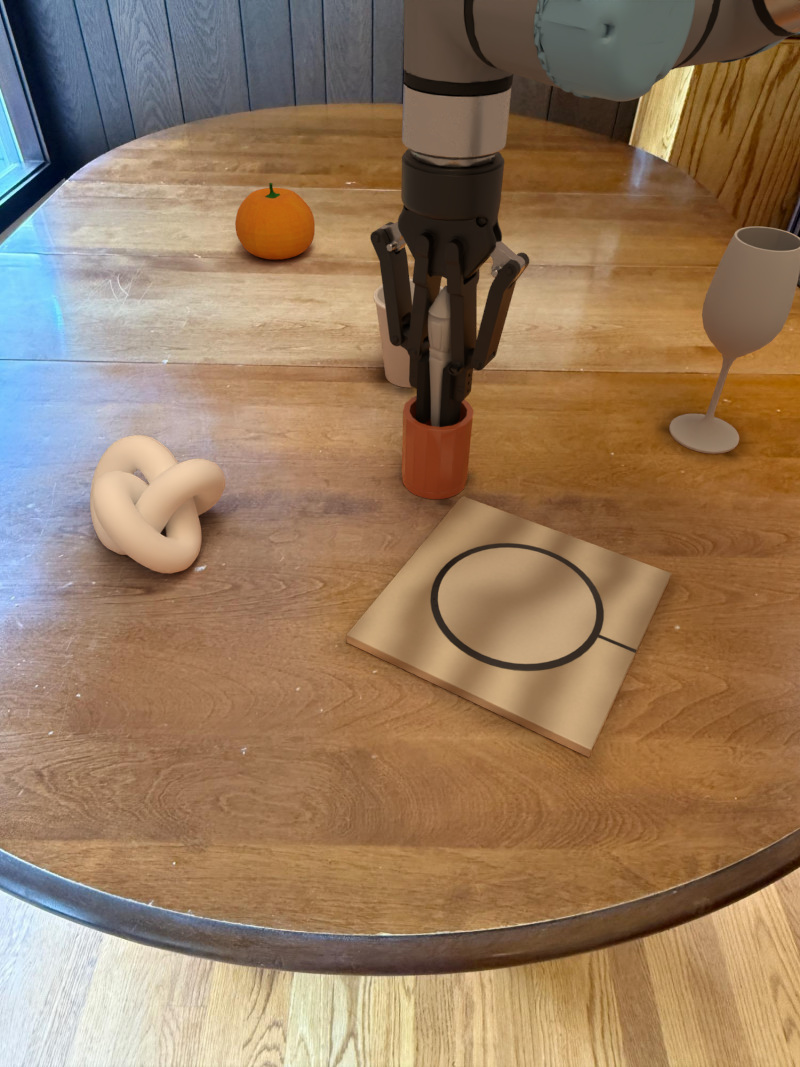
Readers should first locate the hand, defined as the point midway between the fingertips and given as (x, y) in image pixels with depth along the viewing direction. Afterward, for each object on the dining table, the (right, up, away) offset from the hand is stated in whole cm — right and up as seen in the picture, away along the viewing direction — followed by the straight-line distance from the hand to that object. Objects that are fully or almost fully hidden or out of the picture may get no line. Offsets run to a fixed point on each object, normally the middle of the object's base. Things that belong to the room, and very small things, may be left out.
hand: (437, 421), depth 72 cm
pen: (0, -1, +1) cm, 1 cm away
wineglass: (+29, 0, +11) cm, 31 cm away
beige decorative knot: (-24, -11, -3) cm, 27 cm away
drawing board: (+6, -17, -8) cm, 20 cm away
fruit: (-22, +32, +46) cm, 60 cm away
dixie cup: (-2, +8, +19) cm, 21 cm away
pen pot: (0, -5, +4) cm, 7 cm away
